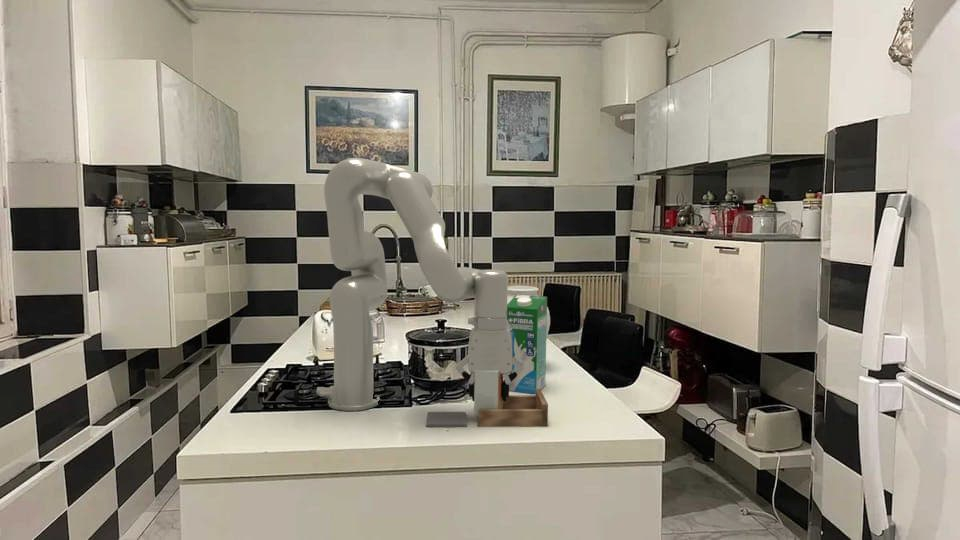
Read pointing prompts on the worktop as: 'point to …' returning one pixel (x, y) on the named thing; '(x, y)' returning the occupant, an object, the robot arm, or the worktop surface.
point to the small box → (488, 390)
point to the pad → (446, 419)
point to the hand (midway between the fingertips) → (488, 399)
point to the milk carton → (528, 341)
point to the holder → (517, 412)
